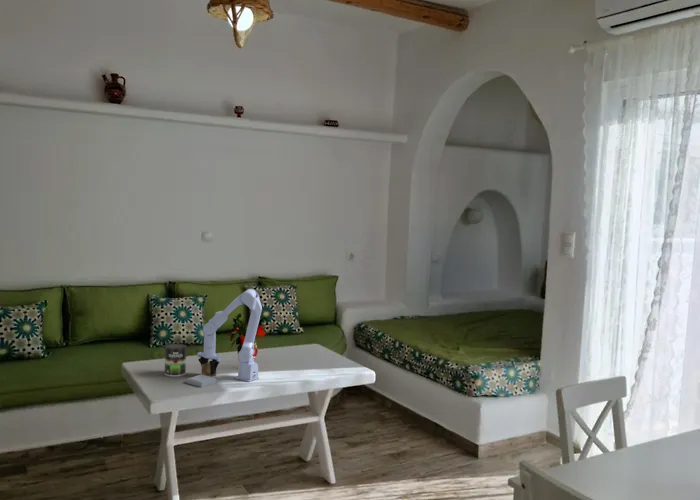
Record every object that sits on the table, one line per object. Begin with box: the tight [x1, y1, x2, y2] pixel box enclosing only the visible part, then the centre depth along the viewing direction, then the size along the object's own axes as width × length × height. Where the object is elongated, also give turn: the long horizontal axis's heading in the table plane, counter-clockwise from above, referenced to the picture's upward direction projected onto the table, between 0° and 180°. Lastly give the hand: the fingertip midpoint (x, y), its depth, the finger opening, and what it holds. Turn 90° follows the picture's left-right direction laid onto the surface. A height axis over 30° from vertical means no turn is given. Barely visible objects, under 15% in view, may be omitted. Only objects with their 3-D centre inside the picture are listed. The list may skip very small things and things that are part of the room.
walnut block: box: [201, 361, 217, 378], centre depth 302 cm, size 5×5×6 cm
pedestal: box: [185, 373, 218, 388], centre depth 291 cm, size 10×10×2 cm
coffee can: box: [164, 343, 188, 378], centre depth 302 cm, size 10×10×14 cm
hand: (208, 373), depth 302 cm, fingers closed on walnut block, 5 cm apart
